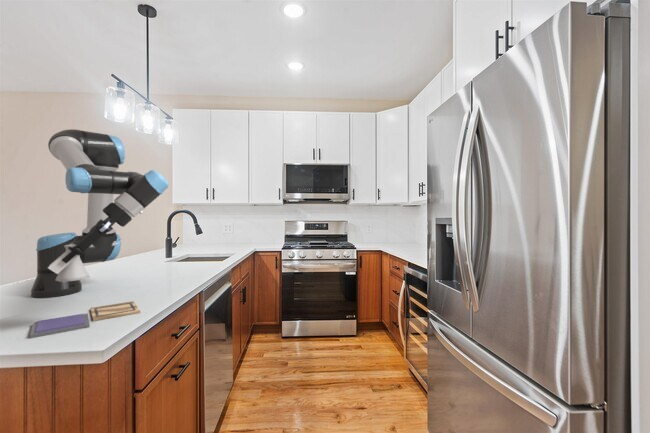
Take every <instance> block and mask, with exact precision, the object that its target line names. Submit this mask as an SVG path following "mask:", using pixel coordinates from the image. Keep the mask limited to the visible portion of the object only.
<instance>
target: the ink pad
mask: <svg viewBox="0 0 650 433" xmlns="http://www.w3.org/2000/svg"><path fill="white" fill-rule="evenodd" d="M90 327H91V326H90V319H89V314H88V313H80V314H79V313H78V314H73V315H67V316H61V317H60V316H59V317H53V318H48V319H42V320H38V321H34V322H33V325H32V328H31V331H30V334H29V339H33V338H39V337H44V336H45V337H46V336H49V335H55V334H59V333H65V332H69V331H76V330H81V329H86V328H90Z"/></svg>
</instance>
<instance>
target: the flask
mask: <svg viewBox="0 0 650 433" xmlns="http://www.w3.org/2000/svg"><path fill="white" fill-rule="evenodd" d="M75 245H76V244H73V245H64V247H65V248H66V252H67V251H68V250H69V249H68V247H71V248H72V247H74V246H75ZM88 278H90V275H89V273H88V271H87V269H86V267H85V266H84V263H82V261H81V259H80V256H79V255H78V257H76V258H75V259H74V260H73V261H72V262H71V263H70V264H68V265H67V266H66V267H65V268H64V269H63V270H61V271H60V272H59V273H58V275H57V278H56V280H55V281H59V282H67V281H76V280H80V281H81V280H85V279H88Z"/></svg>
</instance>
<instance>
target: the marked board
mask: <svg viewBox="0 0 650 433" xmlns="http://www.w3.org/2000/svg"><path fill="white" fill-rule="evenodd" d="M90 313H91V317H92V322H97V321H103V320H109V319H113V318H119V317H120V318H121V317H125V316H130V315H137V314H141V310H140V308H139V307H138V305H137V304H136V303H135V301H133V300H132V301H126V302H120V303H114V304H108V305H101V306H95V307H90Z"/></svg>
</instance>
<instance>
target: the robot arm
mask: <svg viewBox="0 0 650 433" xmlns="http://www.w3.org/2000/svg"><path fill="white" fill-rule="evenodd" d="M47 145H48V146H47V147H48V150H49V152H50V154H51V156H52V157H53V158H55V159H57V160H59V161H60V162H61V164H62V166H63V167H64V169H65V170H66V172H65V185H66V187H65V188H66V189H67V190H68V191H69V192H71V193H80V194H87V213H86V217H87V219H86V220H87V222H86V227H85V228H83V229H82V231H81V232H82V233H81V235H77V234H76V232H66V233H65V232H64V233H55V234H50V235H45V236H41V237H39V238H38V239H37V241H36V249H35V251H36V255H37V256H36V260H37V261H36V264H37V265H36V272H37V273H36V277H35V280H34V282H33V285H32V286H31V287H32V288H31V291H30V295H31V297H32V298H36V299H37V298H38V299H39V298H54V297H55V298H56V297H61V296H66V295H72V294H75V293H79V292H81V291H82V290H83V285H82V284H83V283H82V282H81V280H76V281H67V282H59V281H55V280H56V278H57V275H58V273H59V272H60V271H61V270H63V269H64V268H65V267H66V266H67V265H68V264H70V263H71V262H72V261H73V260H74V259H75V258H76V257H78V255H79V256H80V259H81V261H82V263H83V264H90V263H91V264H92V263H100V262H101V263H105V262H109V261H113V260H115V259H116V258H117V257H118V256H119V254H120V251H121V245H122V241H121V236H120V234H118V233H117V231H116V229H114V228H113V225H115V223H116V224H117V225H119V226H120V227H123V228H124V227H125V226H127V225H128V224H129V223H130V222H131V221H132V220H133V218H135V217H136V216H137V215H139V214H140V215H141V214H143V212H144V211H142V210H144V209H146V208H147V207H148V206H149V205H150V204H151V203H152V202H153V201H155V200H156V199H157V198H158V197H160V195H162V194H163V193H164V192H165V191H166V190H167V189H168V188H169V187H170V186H169V182H168V181H167V180H166V178H165V177H164V176H163V175H162V174H160V173H159V172H158V171H156V170H155V169H154V170H153V169H152V170H149V171H148V172H146V173H144V174H142V173H139V172H137V171H118V170H119V166H120V165H123V164H124V163H125V159H126V152H125V151H126V150H125V146H124V144H123V142H122V140H121V139H120V137H117V136H115V135H112V134H111V135H110V134H105V133H98V132H93V131H88V130H87V131H85V130H81V129H73V128H72V129H64V130H61V131H58V132H56V133H54V134H53V135H52V136H51V137H50V139H49V140H48V144H47ZM114 195H118V196H117V197H116V198H115V199H114ZM132 217H133V218H132ZM73 244H76V245H75V246H74V247H72V248H71V247H68V249H69V250H68V251H67V252H66V248H65V247H64V245H73Z"/></svg>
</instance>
